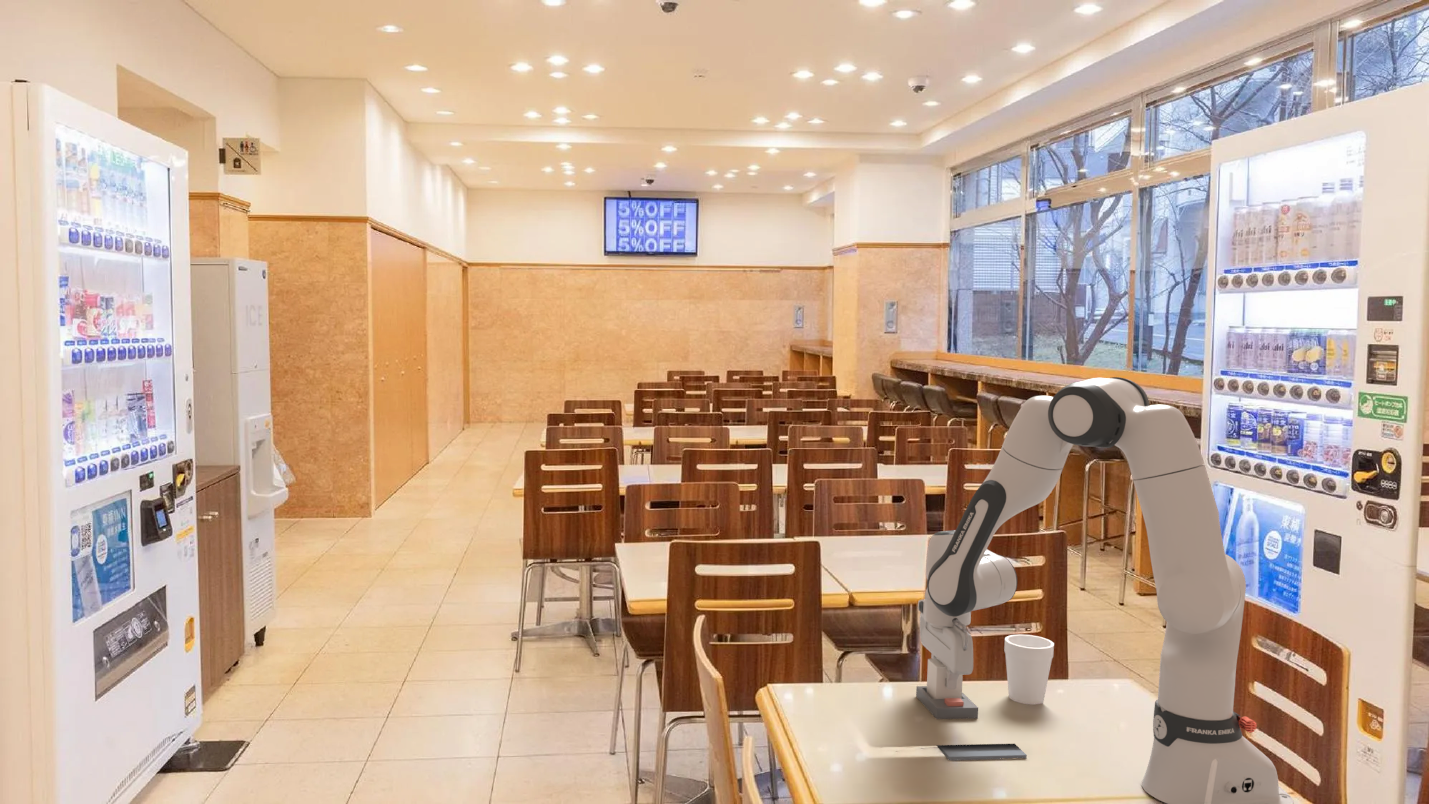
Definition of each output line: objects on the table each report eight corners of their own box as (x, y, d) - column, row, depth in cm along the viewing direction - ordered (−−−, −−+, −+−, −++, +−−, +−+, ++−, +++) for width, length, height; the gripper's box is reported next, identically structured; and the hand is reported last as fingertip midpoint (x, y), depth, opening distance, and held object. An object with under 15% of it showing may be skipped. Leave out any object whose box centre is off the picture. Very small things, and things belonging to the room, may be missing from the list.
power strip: (954, 702, 207) (955, 681, 207) (977, 725, 195) (978, 703, 195) (915, 703, 206) (916, 682, 205) (936, 726, 194) (937, 704, 194)
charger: (951, 693, 205) (953, 657, 205) (961, 702, 200) (963, 666, 199) (926, 693, 204) (928, 657, 204) (935, 703, 199) (936, 666, 199)
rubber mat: (998, 731, 192) (999, 728, 192) (1026, 758, 180) (1026, 754, 180) (926, 733, 191) (926, 729, 190) (948, 760, 179) (949, 756, 179)
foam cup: (1056, 703, 208) (1059, 640, 207) (1043, 717, 200) (1047, 651, 199) (1008, 693, 213) (1012, 631, 212) (995, 706, 205) (998, 642, 204)
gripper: (983, 627, 191) (980, 700, 192) (945, 598, 211) (942, 665, 212) (950, 627, 190) (947, 701, 191) (915, 599, 211) (912, 666, 211)
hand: (944, 682), depth 202 cm, fingers closed on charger, 5 cm apart
